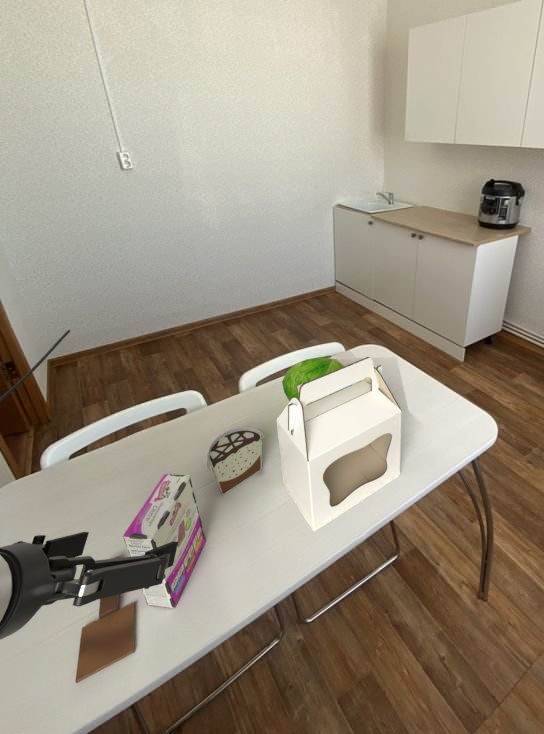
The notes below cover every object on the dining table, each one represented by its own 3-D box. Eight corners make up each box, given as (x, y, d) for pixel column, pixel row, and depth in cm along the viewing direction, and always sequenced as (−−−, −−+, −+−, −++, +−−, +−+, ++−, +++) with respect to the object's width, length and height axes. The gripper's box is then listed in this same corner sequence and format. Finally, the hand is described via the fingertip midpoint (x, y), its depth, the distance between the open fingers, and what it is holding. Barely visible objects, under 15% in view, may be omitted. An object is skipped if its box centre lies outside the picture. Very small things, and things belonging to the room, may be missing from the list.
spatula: (89, 574, 66) (87, 569, 65) (135, 554, 69) (134, 549, 68) (76, 683, 52) (73, 678, 52) (134, 652, 55) (132, 647, 55)
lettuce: (362, 386, 113) (330, 340, 115) (364, 398, 93) (325, 341, 95) (314, 421, 112) (283, 373, 113) (306, 440, 92) (268, 382, 94)
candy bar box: (181, 539, 71) (164, 471, 65) (206, 540, 71) (191, 473, 65) (144, 608, 61) (120, 535, 55) (174, 610, 60) (153, 537, 55)
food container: (253, 451, 91) (248, 417, 87) (267, 466, 87) (263, 431, 83) (202, 482, 83) (195, 446, 79) (215, 500, 79) (208, 463, 75)
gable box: (365, 439, 94) (364, 339, 84) (401, 475, 84) (404, 365, 74) (282, 485, 82) (269, 374, 72) (312, 533, 72) (302, 411, 62)
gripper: (-168, 636, 34) (36, 571, 53) (88, 675, 31) (205, 591, 51) (-119, 536, 37) (57, 509, 56) (118, 564, 34) (218, 525, 54)
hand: (127, 548), depth 54 cm, fingers open, 13 cm apart
